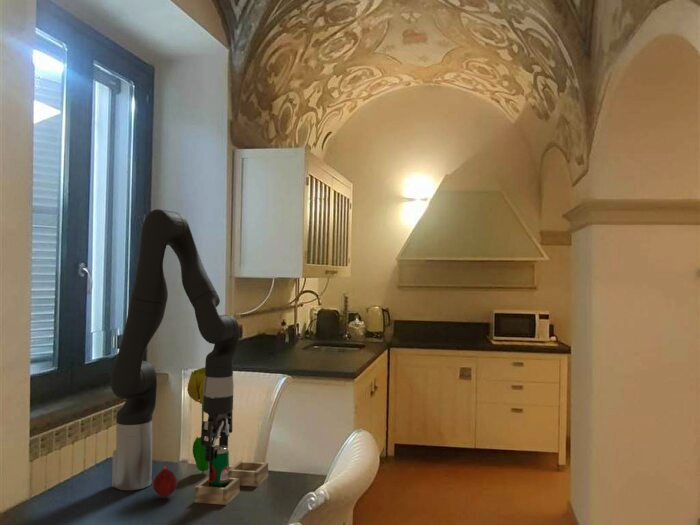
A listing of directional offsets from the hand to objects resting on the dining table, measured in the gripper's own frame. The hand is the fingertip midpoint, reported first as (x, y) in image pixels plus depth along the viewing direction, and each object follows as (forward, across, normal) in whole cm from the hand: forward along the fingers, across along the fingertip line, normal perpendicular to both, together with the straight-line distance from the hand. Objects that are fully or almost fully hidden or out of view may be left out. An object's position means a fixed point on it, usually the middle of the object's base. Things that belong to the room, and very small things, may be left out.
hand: (216, 456), depth 157 cm
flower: (+11, -17, -11) cm, 23 cm away
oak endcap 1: (+10, 0, +1) cm, 10 cm away
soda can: (+10, 0, +1) cm, 10 cm away
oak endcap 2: (+10, -14, +4) cm, 18 cm away
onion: (+11, +3, -12) cm, 17 cm away
